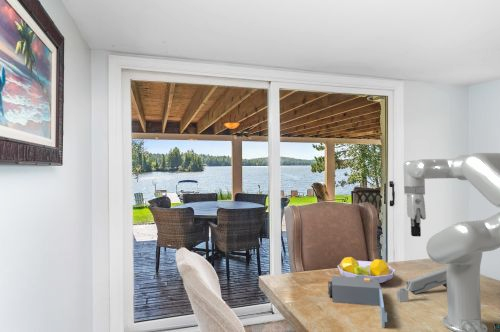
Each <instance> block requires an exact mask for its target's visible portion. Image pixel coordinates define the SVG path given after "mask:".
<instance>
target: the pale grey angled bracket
mask: <svg viewBox="0 0 500 332" xmlns="http://www.w3.org/2000/svg"><path fill="white" fill-rule="evenodd" d="M408 280H409V282H408V284H406V287H400V288H399V289H397V290H396V297H397V298H396V299H397V302H399V303H405V302H407V303H408V302H409V292H410V293H411V291H412V288H413V286H414V282H412V281H410V280H411V279H408Z"/></svg>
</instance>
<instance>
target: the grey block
mask: <svg viewBox="0 0 500 332" xmlns="http://www.w3.org/2000/svg"><path fill="white" fill-rule="evenodd" d="M327 282H328V283H327V286H328V287H327V288H328V293H327V295H328V296H332V303H340V304H353V305H364V306H375V307H376V306H378V307H380V306H379V289H382V286H381V283H379V282H378V279H375V278H359V277H345V276H343V275H340V276H339V275H331V281H330V280H328V281H327Z"/></svg>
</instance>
